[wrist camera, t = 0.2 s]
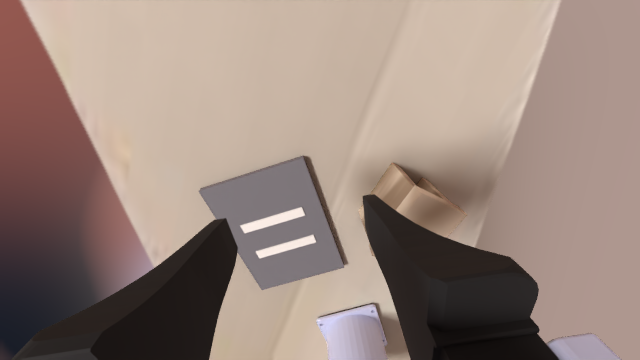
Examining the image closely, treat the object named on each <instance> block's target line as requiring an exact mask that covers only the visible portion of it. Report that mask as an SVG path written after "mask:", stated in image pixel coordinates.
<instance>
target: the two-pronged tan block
mask: <svg viewBox="0 0 640 360" xmlns="http://www.w3.org/2000/svg"><path fill="white" fill-rule="evenodd" d="M372 194H375V195H376V196H377V197H379V198H380V199H381V200H383V201H384V202H385V203H386V204H388V205H389V206H390V207H392V208H393V209H394V210H396V211H397V212H399V213H400V214H402V215H403V216H405V217H406V218H408V219H410V220H411V221H413V222H415V223H416V224H418V225H420V226H422V227H424V228H426V229H428V230H430V231H432V232H434V233H436V234H438V235H441V236H443V237H446V238H447V237H448V236H449V234H450V233H451V232H452V231H453V230H454V229H455V228H456V227H457V226H458V225H459V224H460V223H461V221H462V220H463V219H464V218H465V217H466V216H467V214H466V213H465V212H464V211H463V210H462V209H460V208H459V207H458V206H457V205H454V204H452V203H451V202H450V201H449V200H448V199H447V198H446V197H445V196H443V195H442V194H441V193H440V192H439V191H438V190H437V189H436V188H435V187H434V186H433V185H432V184H431V183H430V182H429V181H428V180H426V179H424V178H422V179H421V180H420V181H419V182H418V184H417V185H415V183H414V182H413V181H412V180H411V179H410V178H409V177H408V176H407V174H406V173H405V172H404V171H403V170H402V169H401V168H400V167H399V166H398V165H396V164H394V163H391V165H390V166H389V168H388V169H387V171H386V172H385V174H384V175H383V177H382V178H381V179H380V181H379V182H378V184H377V185H376V187H375V188H374V190H373V191H372V192H371V194H370V195H372ZM359 214H360V217H361V220H362V223H363V225H364V228H365V219H364V207H363V205H362V207H361V208H360V210H359ZM365 231H366V229H365ZM366 234H367V232H366ZM369 247H370V250H371V253H372V256H375V254H374V252H373V250H372V247H371V245H370V244H369Z"/></svg>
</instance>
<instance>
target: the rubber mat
mask: <svg viewBox="0 0 640 360" xmlns="http://www.w3.org/2000/svg"><path fill="white" fill-rule="evenodd" d="M199 193H200V194H201V196H202V197H203V199H204V201H205V202H206V204H207V205H208V207H209V208H210V210H211V212H212V213H213V215H214V216H215V218H216V219H223V218H226V219H227V222H228V224H229V227H230V229H231V232H232V234H233V237H234V239H235V242H236V244H237V246H238V251H237V252H238V254H239V255H240V257H241V258H242V260H243V261H244V263H245V264H246V266H247V268H248V269H249V271H250V272H251V274H252V275H253V277H254V279H255V280H256V282H257V283H258V285H259V286H260V288H261V289H262V290H264V289H268V288H271V287H275V286H278V285H282V284H286V283H289V282H293V281H297V280H300V279H304V278H308V277H311V276H315V275H319V274H322V273H326V272H330V271H333V270H337V269H340V268H344V264H343V261H342V258H341V256H340V253H339V250H338V247H337V245H336V242H335V239H334V237H333V234H332V231H331V229H330V226H329V223H328V221H327V218H326V215H325V213H324V210H323V207H322V205H321V202H320V199H319V197H318V194H317V191H316V188H315V186H314V183H313V180H312V178H311V175H310V172H309V170H308V167H307V164H306V162H305V159H304V156H301V157H297V158H294V159H291V160H288V161H285V162H282V163H279V164H276V165H272V166H269V167H266V168H263V169H260V170H257V171H254V172H251V173H247V174H244V175H241V176H238V177H235V178H232V179H229V180H226V181H222V182H219V183H216V184H213V185H210V186H207V187H204V188H201V189H200V190H199Z"/></svg>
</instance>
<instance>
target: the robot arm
mask: <svg viewBox="0 0 640 360" xmlns="http://www.w3.org/2000/svg"><path fill="white" fill-rule="evenodd" d="M363 207H364V219H365V229H366V232H367V236H368V239H369V242H370V245H371V247H372V250H373V252H374V254H375V257H376V259H377V261H378V264H379V266H380V268H381V270H382V273H383V275H384V277H385V280H386V282H387V285H388V287H389V290H390V293H391V296H392V299H393V302H394V305H395V309H396V312H397V315H398V318H399V321H400V325H401V328H402V331H403V335H404V338H405V341H406V345H407V348H408V351H409V355H410V358H411V360H621V359H620V358H619V357H618V356H617V355H616V354H615V353H614V352H613V351H612V350H611V349H610V348H609V347H608V346H607V345H606V344H605V343H603V342H602V341H601V340H600V339H599V338H598V337H597V336H596V335H595V334H592V333H587V334H581V335H574V336H568V337H561V338H556V339H553V340H551V341H549V342H548V343H547V344H546V343H545V342H544V341H543V340H542V339H541V338H540V337H539V335H538V334H537V333H538V332H539V328H538V326H537V325H536V324H535V323H534V321H533V320H532V319H531V318H530V315H531V313H532V310H533V308H534V305H535V302H536V300H537V296H538V290H539V289H538V285H537V283H536V282H535V280H534V279H533V278H532V277H531V276H530V275H529V274H528V273H527V272H526V271H525V270H524V269H523V268H522V267H520V266H519V265H518V264H517V263H516V262H515V261H514V260H512V259H511V258H510V257H508V256H503V255H500V254H496V253H492V252H488V251H484V250H480V249H477V248H474V247H471V246H468V245H464V244H461V243H459V242H456V241H453V240H451V239H448V238H446V237H443V236H441V235H438V234H436V233H434V232H432V231H430V230H428V229H426V228H424V227H422V226H420V225H418V224H416V223H415V222H413V221H411V220H410V219H408V218H406V217H405V216H403V215H402V214H400V213H399V212H397V211H396V210H394V209H393V208H392V207H390V206H389V205H388V204H386V203H385V202H384V201H383V200H381V199H380V198H379V197H377V196H376V195H375V194H372V195H366V196H363ZM237 251H238V246H237V244H236V242H235V239H234V237H233V234H232V232H231V229H230V227H229V224H228V222H227V219H226V218H223V219H217V220H214V221H212V222H211V223H210V224H208V225H207V226H206V227H205V228H203V229H202V230H201V231H200V232H199V233H198V234H196V235H195V236H194V237H193V238H192V239H191V240H189V241H188V242H187V243H186V244H185V245H184V246H182V247H181V248H180V249H179V250H177V251H176V252H175V253H174V254H172V255H171V256H170V257H169V258H167V259H166V260H165V261H163V262H162V263H161V264H159V265H158V266H157V267H155V268H154V269H152V270H151V271H149V272H148V273H147V274H145V275H144V276H142V277H141V278H139V279H138V280H136V281H134V282H133V283H131V284H129V285H128V286H126V287H124V288H123V289H121V290H120V291H118V292H116V293H114V294H113V295H111V296H109V297H107V298H106V299H104V300H102V301H100V302H98V303H96V304H94V305H93V306H91V307H89V308H87V309H85V310H83V311H81V312H79V313H77V314H75V315H73V316H71V317H68V318H66V319H64V320H62V321H60V322H58V323H56V324H54V325H52V326H49V327H47V328H45V329H43V330H41V331H39V332H38V333H37V334H36V335H35V336H34V337H33V338H32V339H31V340H30V341H29V342H28V343H27V344H26V345H25V346H24V347H23V348H22V349H21V350H20V351H19V352H18V353H17V354H16V355H15V356H14V357H13V358H12V359H11V360H209V357H210V352H211V347H212V342H213V337H214V332H215V328H216V324H217V319H218V315H219V312H220V308H221V305H222V302H223V299H224V296H225V293H226V290H227V287H228V284H229V282H230V279H231V276H232V272H233V269H234V266H235V262H236V257H237ZM317 325H318V326H319V328H320V330H321V332H322V334H323V336H324V338H325V340H326V341H327V349H328V360H388V358H387V354H386V351H385V347H384V346H386V345H387V340H386V337H385V334H384V331H383V328H382V325H381V322H380V319H379V316H378V312H377V309H376V306H375V305H374V304H370V305H366V306H362V307H358V308H355V309H351V310H347V311H343V312H339V313H335V314H331V315H328V316H324V317H320V318H318V319H317Z"/></svg>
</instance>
